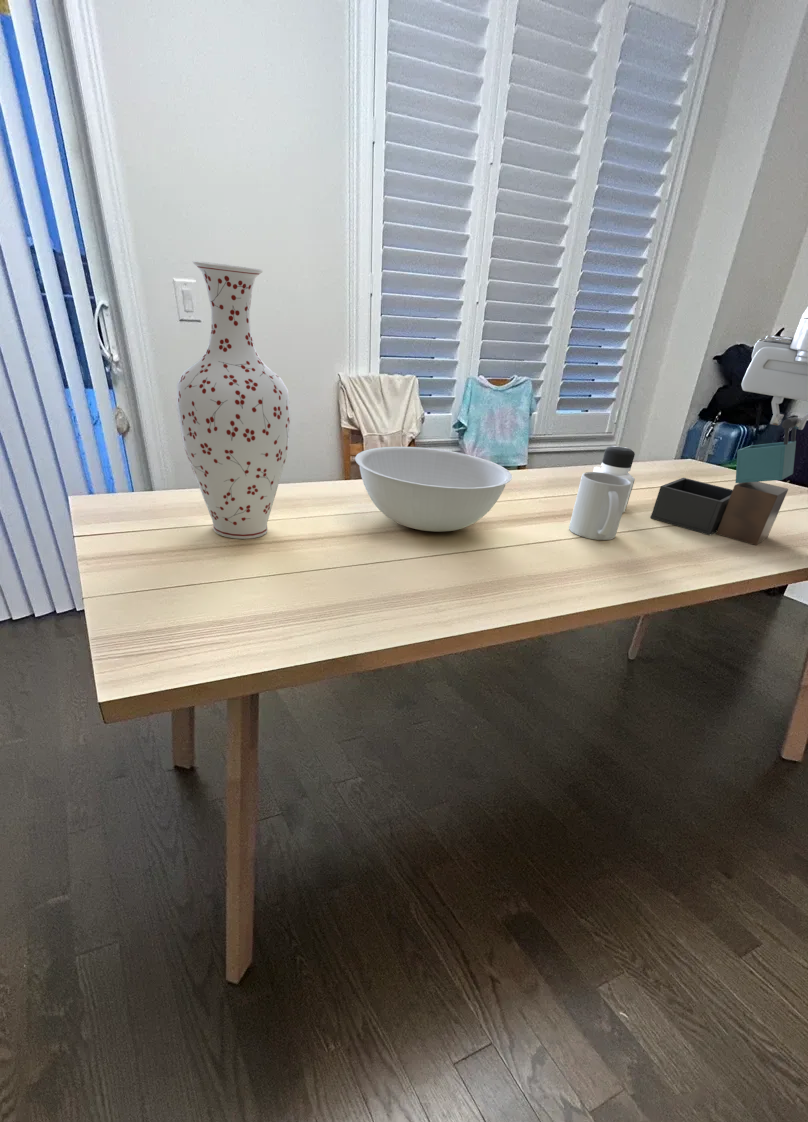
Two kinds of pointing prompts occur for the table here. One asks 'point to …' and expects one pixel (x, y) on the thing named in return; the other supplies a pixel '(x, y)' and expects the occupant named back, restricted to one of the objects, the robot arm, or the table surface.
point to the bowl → (431, 486)
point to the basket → (691, 505)
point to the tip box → (768, 459)
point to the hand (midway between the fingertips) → (786, 426)
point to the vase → (234, 412)
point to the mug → (599, 505)
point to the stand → (751, 511)
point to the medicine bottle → (618, 464)
